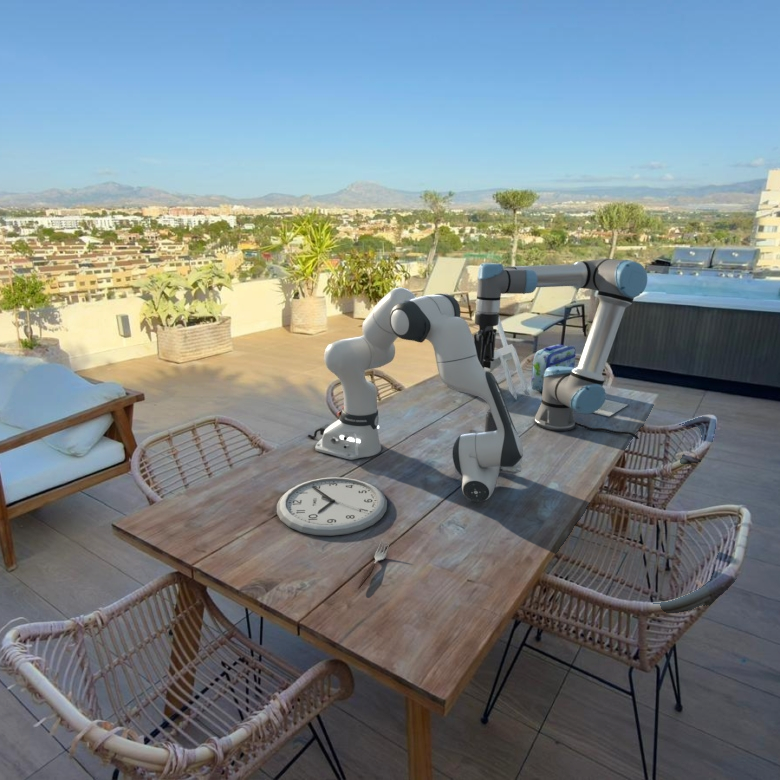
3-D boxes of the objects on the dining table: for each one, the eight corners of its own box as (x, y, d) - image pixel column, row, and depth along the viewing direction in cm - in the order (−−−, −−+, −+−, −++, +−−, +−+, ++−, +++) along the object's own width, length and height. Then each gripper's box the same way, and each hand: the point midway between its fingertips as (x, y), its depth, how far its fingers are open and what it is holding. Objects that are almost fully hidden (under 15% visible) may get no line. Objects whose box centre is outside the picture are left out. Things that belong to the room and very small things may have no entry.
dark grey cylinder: (480, 470, 165) (485, 412, 159) (483, 464, 169) (487, 407, 163) (495, 472, 164) (499, 414, 158) (497, 466, 168) (502, 409, 162)
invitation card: (608, 416, 214) (573, 407, 224) (608, 416, 214) (573, 408, 224) (628, 404, 229) (594, 396, 238) (628, 405, 229) (594, 397, 238)
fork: (352, 589, 110) (352, 581, 109) (380, 547, 124) (380, 540, 123) (364, 592, 109) (364, 583, 108) (390, 550, 123) (390, 542, 123)
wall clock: (392, 527, 129) (268, 531, 127) (391, 533, 130) (269, 537, 127) (383, 473, 158) (282, 475, 155) (383, 478, 158) (282, 480, 156)
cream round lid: (492, 373, 175) (492, 368, 175) (486, 376, 171) (486, 371, 171) (478, 371, 178) (478, 366, 177) (472, 374, 174) (472, 369, 173)
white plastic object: (461, 429, 252) (437, 405, 227) (444, 352, 274) (420, 323, 250) (535, 404, 240) (518, 377, 215) (510, 326, 262) (492, 293, 237)
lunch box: (547, 397, 237) (552, 352, 231) (526, 391, 245) (531, 348, 238) (574, 386, 255) (580, 344, 249) (554, 381, 262) (559, 340, 256)
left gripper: (521, 463, 149) (525, 444, 161) (451, 452, 155) (459, 436, 167) (519, 482, 151) (523, 463, 163) (450, 472, 157) (458, 454, 169)
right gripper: (487, 308, 178) (482, 374, 185) (464, 314, 163) (460, 386, 170) (508, 310, 174) (502, 377, 181) (487, 317, 159) (481, 390, 166)
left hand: (490, 449), depth 165 cm, fingers closed on dark grey cylinder, 4 cm apart
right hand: (481, 381), depth 175 cm, fingers closed on cream round lid, 5 cm apart
